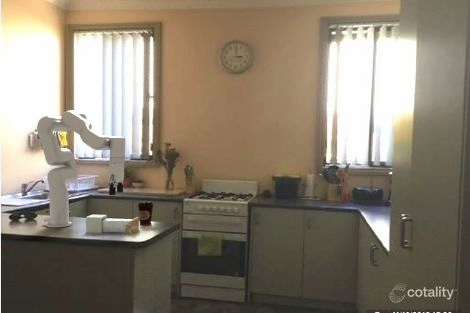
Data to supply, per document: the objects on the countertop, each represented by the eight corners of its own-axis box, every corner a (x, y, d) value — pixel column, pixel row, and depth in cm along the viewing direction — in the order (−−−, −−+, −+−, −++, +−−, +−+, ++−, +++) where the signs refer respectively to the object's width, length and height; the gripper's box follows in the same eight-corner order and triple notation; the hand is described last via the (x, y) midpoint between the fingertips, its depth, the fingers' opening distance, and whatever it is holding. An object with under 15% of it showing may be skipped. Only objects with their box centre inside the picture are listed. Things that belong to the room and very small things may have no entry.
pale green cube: (86, 232, 214) (86, 217, 214) (92, 229, 221) (92, 214, 221) (101, 232, 213) (101, 217, 213) (107, 229, 220) (106, 214, 220)
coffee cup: (149, 227, 228) (149, 203, 227) (135, 226, 229) (135, 202, 229) (155, 223, 236) (155, 200, 236) (141, 223, 238) (141, 200, 237)
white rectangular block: (99, 231, 215) (99, 220, 215) (103, 229, 219) (103, 218, 219) (131, 232, 213) (131, 220, 213) (134, 230, 217) (134, 219, 217)
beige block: (125, 234, 211) (125, 220, 211) (131, 230, 220) (131, 216, 220) (132, 234, 210) (132, 220, 210) (139, 230, 219) (138, 217, 219)
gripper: (116, 159, 225) (115, 190, 226) (102, 161, 208) (101, 195, 209) (130, 160, 225) (129, 191, 226) (117, 162, 207) (116, 196, 208)
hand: (116, 193), depth 217 cm, fingers open, 9 cm apart
